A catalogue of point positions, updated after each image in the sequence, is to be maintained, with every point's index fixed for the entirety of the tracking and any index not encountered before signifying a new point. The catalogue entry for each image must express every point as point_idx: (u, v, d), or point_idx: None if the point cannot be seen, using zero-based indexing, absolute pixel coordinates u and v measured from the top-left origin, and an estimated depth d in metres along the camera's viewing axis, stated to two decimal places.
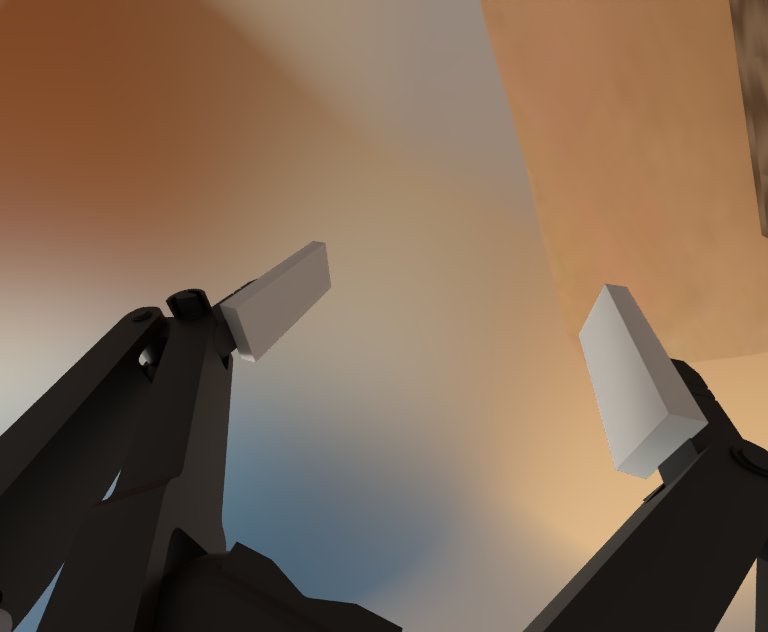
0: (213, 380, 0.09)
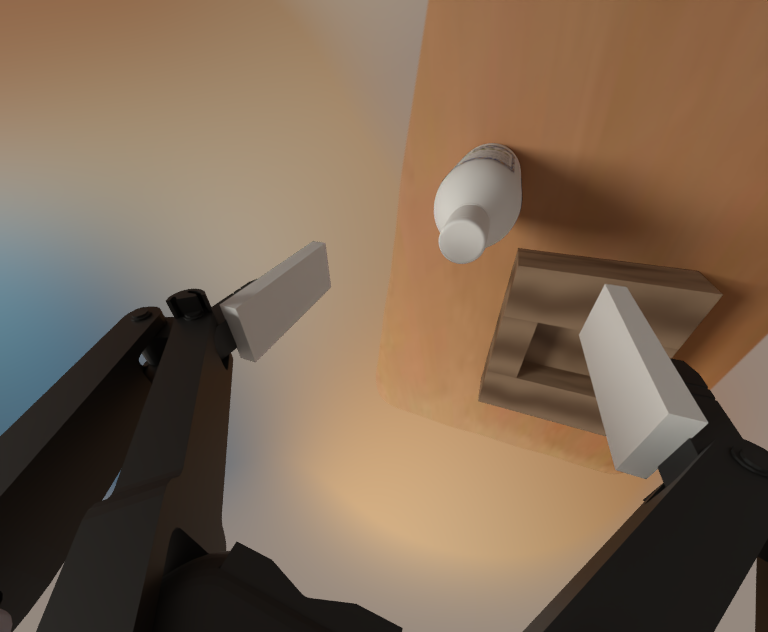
0: (213, 380, 0.09)
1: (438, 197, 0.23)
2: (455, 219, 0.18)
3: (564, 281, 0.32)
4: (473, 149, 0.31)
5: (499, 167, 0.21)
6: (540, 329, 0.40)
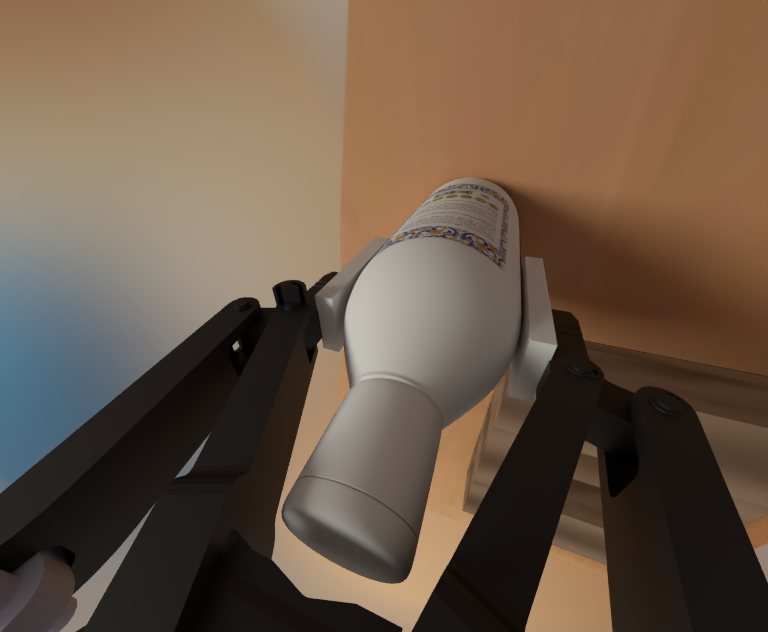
0: (296, 374, 0.09)
1: (345, 314, 0.11)
2: (312, 494, 0.06)
3: None
4: (441, 187, 0.19)
5: (470, 263, 0.09)
6: None
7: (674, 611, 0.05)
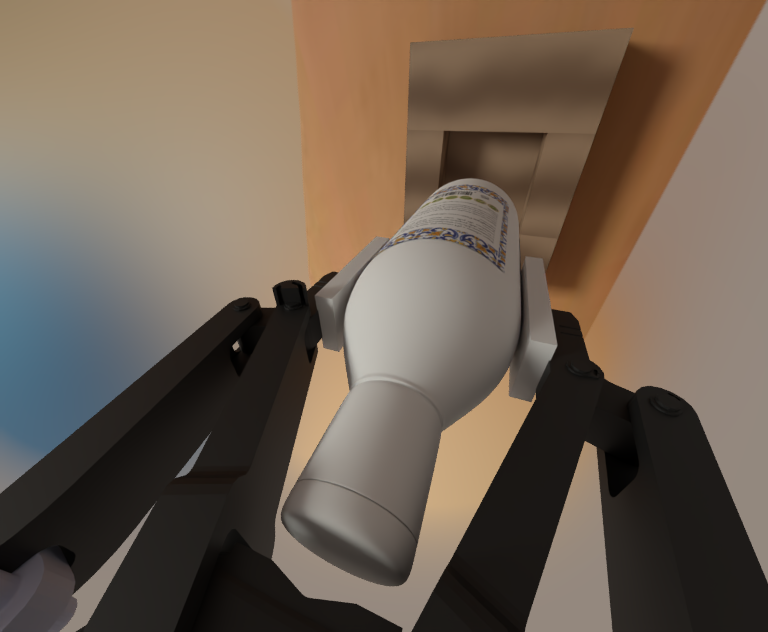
0: (296, 374, 0.09)
1: (345, 315, 0.11)
2: (311, 497, 0.06)
3: (461, 54, 0.27)
4: (440, 188, 0.19)
5: (470, 265, 0.09)
6: (459, 165, 0.35)
7: (674, 610, 0.05)
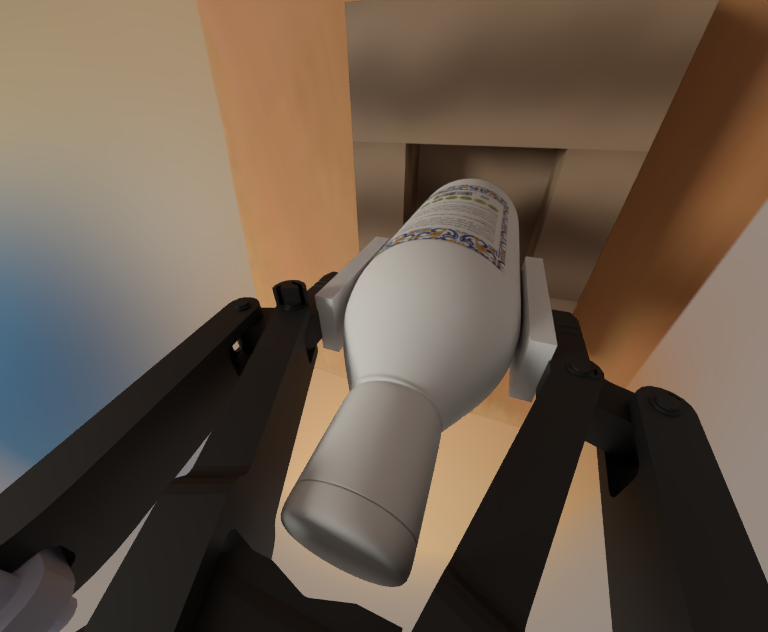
0: (296, 374, 0.09)
1: (345, 315, 0.11)
2: (311, 498, 0.06)
3: (426, 20, 0.16)
4: (440, 188, 0.19)
5: (470, 265, 0.09)
6: (435, 189, 0.25)
7: (675, 610, 0.05)
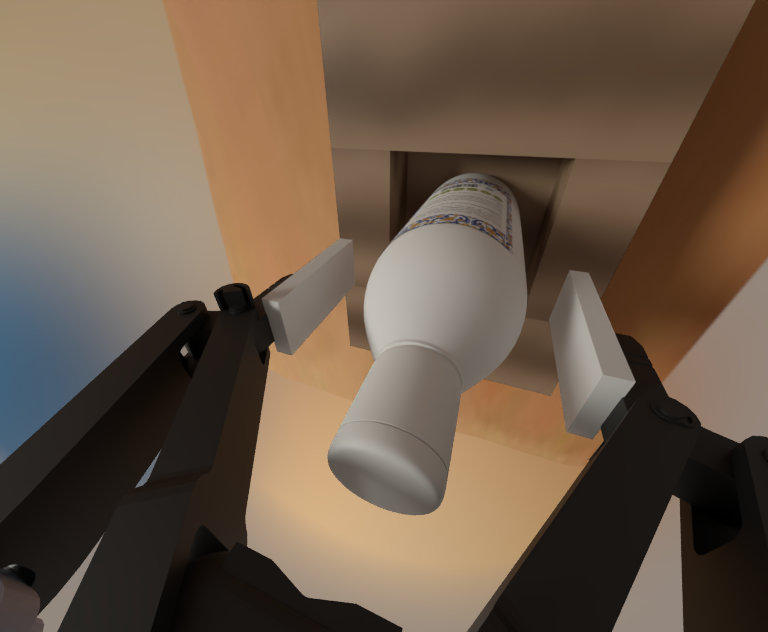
0: (249, 375, 0.09)
1: (366, 294, 0.12)
2: (358, 433, 0.06)
3: (410, 8, 0.14)
4: (446, 182, 0.20)
5: (482, 245, 0.10)
6: None
7: None
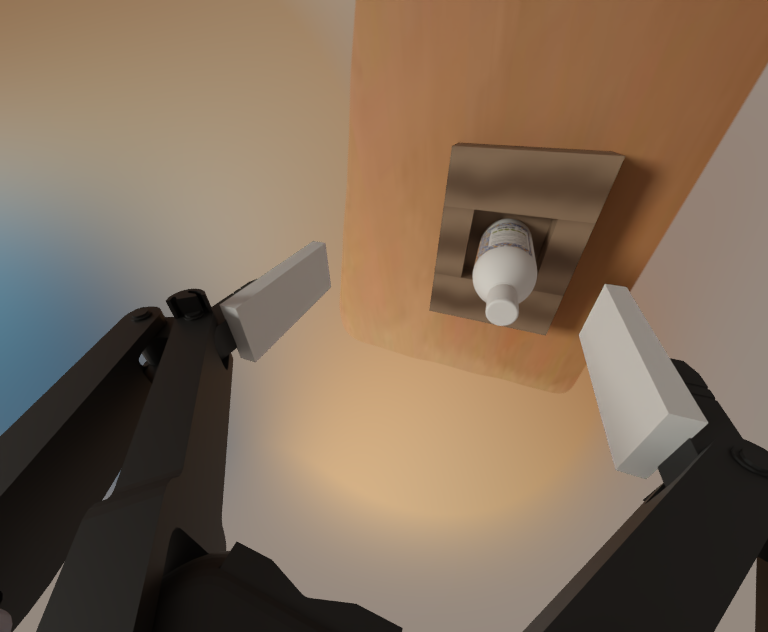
0: (213, 380, 0.09)
1: (478, 271, 0.32)
2: (498, 299, 0.27)
3: (492, 158, 0.34)
4: (496, 223, 0.40)
5: (523, 254, 0.31)
6: (482, 230, 0.43)
7: None
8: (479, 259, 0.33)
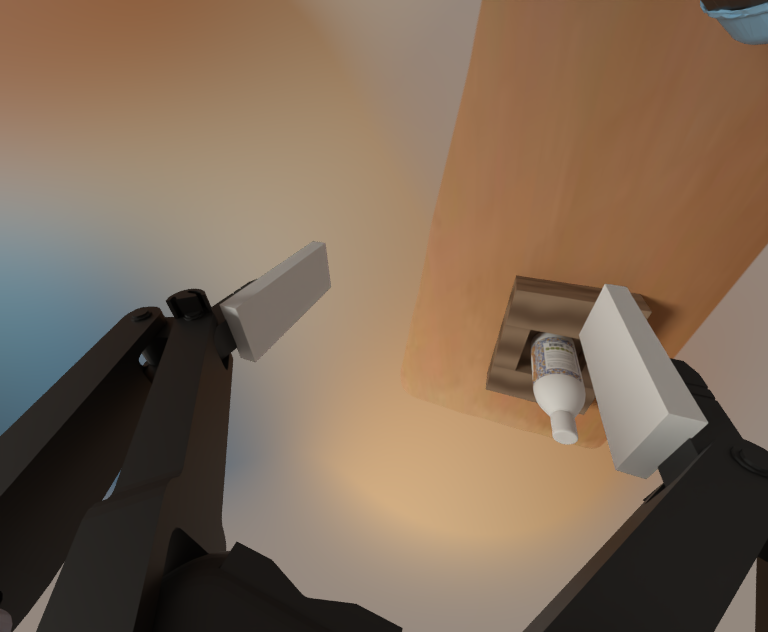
0: (213, 380, 0.09)
1: (541, 392, 0.44)
2: (563, 429, 0.38)
3: (548, 301, 0.45)
4: (546, 334, 0.51)
5: (575, 383, 0.42)
6: (533, 334, 0.54)
7: None
8: (540, 380, 0.45)
